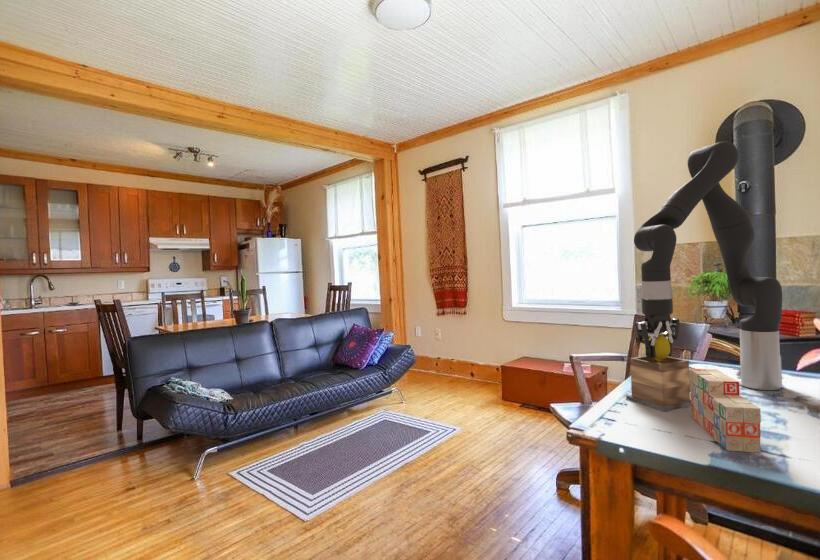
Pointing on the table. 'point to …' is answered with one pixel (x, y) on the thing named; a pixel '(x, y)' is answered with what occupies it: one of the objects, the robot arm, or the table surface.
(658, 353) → the lemon
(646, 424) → the table surface
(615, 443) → the table surface
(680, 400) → the open wooden crate
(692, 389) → the stack of blocks
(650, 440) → the table surface
